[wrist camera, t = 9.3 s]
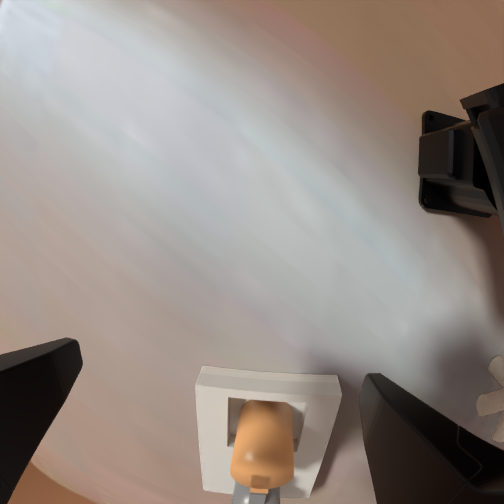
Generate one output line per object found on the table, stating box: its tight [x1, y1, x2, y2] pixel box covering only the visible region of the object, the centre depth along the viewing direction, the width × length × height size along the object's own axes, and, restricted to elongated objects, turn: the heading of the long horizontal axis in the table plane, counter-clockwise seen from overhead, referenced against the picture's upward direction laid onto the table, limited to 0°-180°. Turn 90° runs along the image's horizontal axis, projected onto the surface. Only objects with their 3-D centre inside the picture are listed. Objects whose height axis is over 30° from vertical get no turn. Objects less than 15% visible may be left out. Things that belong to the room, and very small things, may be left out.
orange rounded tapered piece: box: [230, 399, 294, 494], centre depth 19 cm, size 4×5×6 cm
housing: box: [195, 365, 342, 504], centre depth 20 cm, size 10×14×6 cm
